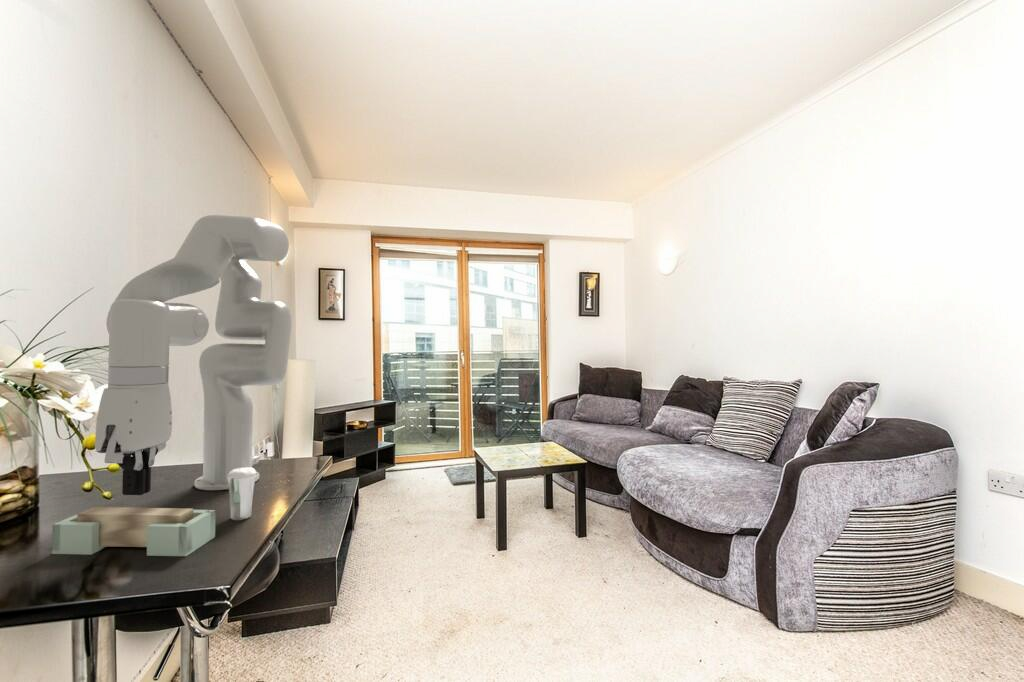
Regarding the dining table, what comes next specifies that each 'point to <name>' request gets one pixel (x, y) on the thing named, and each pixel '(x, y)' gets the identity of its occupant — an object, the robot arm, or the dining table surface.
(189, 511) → the slat
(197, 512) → the endcap
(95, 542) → the endcap
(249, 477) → the milkshake
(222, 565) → the dining table surface
